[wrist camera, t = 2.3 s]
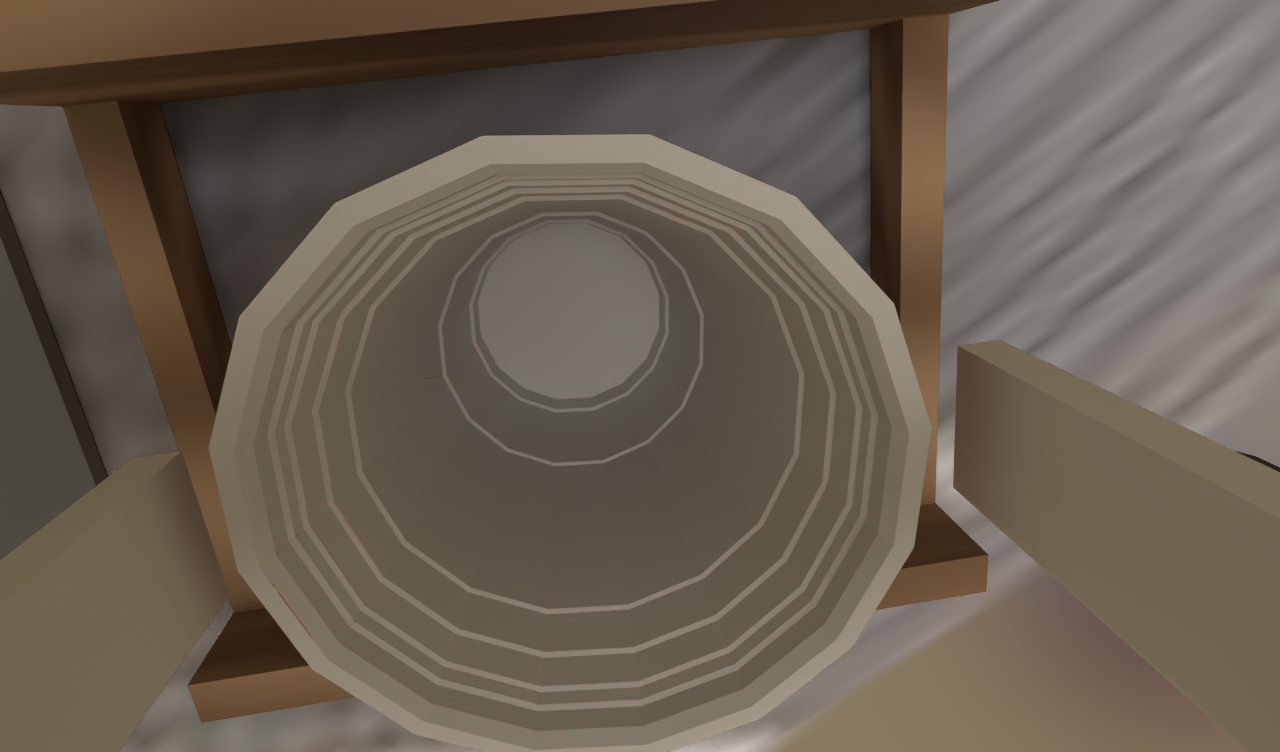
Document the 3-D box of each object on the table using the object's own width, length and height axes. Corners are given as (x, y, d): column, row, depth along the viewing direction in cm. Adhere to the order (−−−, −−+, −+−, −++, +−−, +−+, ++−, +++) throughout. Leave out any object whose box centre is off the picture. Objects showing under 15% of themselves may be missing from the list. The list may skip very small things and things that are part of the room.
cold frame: (94, 58, 19) (-277, 3, 10) (913, -25, 20) (1171, -130, 12) (268, 606, 24) (118, 866, 16) (906, 506, 26) (1081, 692, 17)
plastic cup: (292, 275, 21) (0, 449, 10) (607, 42, 20) (685, -64, 9) (528, 541, 25) (512, 897, 13) (805, 354, 24) (1042, 565, 12)
